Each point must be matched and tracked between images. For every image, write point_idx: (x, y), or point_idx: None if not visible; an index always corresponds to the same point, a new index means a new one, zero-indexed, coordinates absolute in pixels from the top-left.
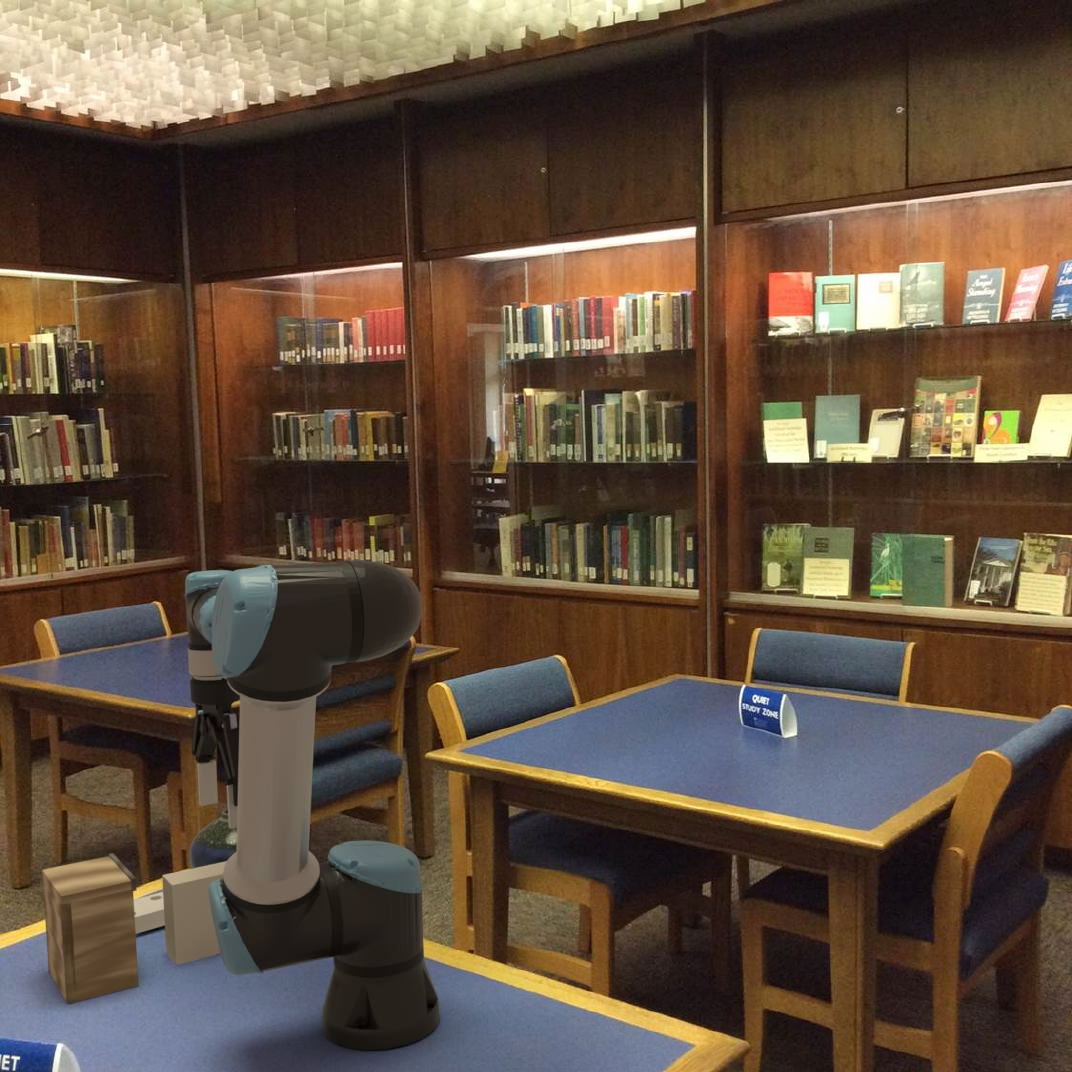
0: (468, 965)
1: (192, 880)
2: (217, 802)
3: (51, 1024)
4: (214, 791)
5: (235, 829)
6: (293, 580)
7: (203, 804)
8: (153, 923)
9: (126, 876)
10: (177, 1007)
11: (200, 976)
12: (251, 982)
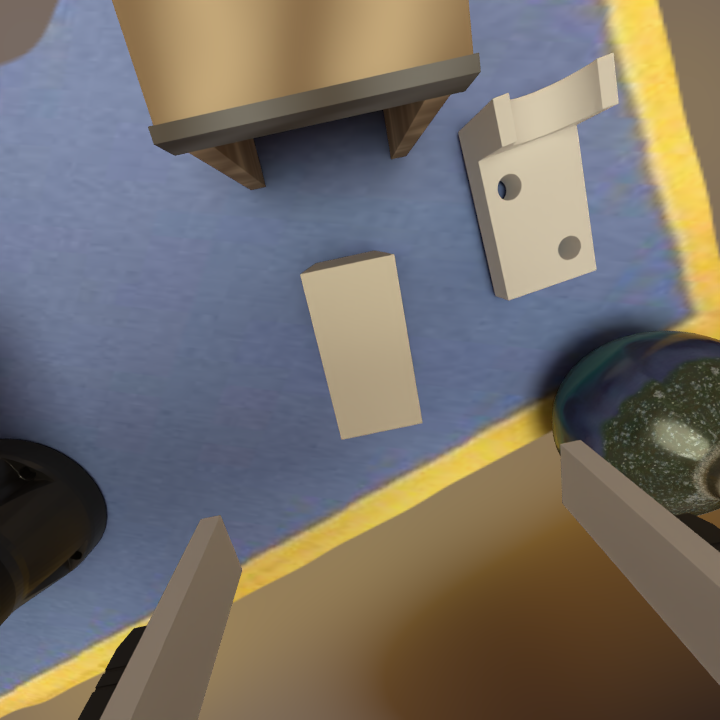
0: None
1: (315, 329)
2: (563, 503)
3: None
4: (596, 530)
5: (666, 457)
6: None
7: (563, 456)
8: (485, 235)
9: (208, 112)
10: (143, 249)
11: (254, 297)
12: (204, 369)
